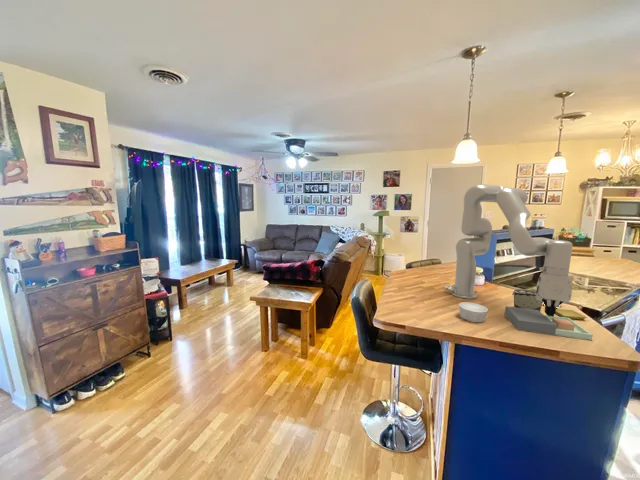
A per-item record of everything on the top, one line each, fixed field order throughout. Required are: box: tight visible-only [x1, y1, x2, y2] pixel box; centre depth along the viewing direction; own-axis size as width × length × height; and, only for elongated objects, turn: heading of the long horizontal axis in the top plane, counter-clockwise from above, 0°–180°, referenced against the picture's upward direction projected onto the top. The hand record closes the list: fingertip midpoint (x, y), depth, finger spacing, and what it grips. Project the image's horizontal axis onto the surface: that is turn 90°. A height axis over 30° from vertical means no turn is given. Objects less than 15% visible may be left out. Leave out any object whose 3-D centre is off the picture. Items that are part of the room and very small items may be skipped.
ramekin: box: [458, 301, 489, 323], centre depth 115 cm, size 11×11×5 cm
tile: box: [552, 318, 575, 331], centre depth 107 cm, size 5×5×2 cm
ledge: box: [504, 305, 556, 336], centre depth 110 cm, size 12×16×4 cm
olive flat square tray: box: [555, 308, 587, 320], centre depth 120 cm, size 9×9×2 cm
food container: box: [511, 288, 543, 312], centre depth 124 cm, size 12×6×10 cm, turn 71°
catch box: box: [544, 314, 593, 341], centre depth 107 cm, size 11×16×2 cm
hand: (549, 315), depth 108 cm, fingers closed
